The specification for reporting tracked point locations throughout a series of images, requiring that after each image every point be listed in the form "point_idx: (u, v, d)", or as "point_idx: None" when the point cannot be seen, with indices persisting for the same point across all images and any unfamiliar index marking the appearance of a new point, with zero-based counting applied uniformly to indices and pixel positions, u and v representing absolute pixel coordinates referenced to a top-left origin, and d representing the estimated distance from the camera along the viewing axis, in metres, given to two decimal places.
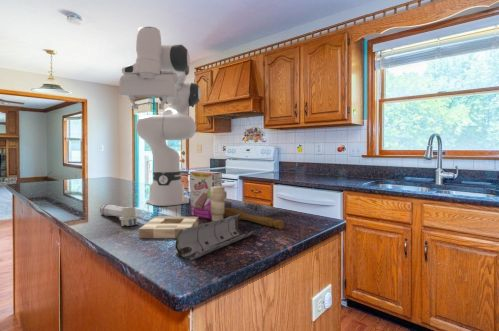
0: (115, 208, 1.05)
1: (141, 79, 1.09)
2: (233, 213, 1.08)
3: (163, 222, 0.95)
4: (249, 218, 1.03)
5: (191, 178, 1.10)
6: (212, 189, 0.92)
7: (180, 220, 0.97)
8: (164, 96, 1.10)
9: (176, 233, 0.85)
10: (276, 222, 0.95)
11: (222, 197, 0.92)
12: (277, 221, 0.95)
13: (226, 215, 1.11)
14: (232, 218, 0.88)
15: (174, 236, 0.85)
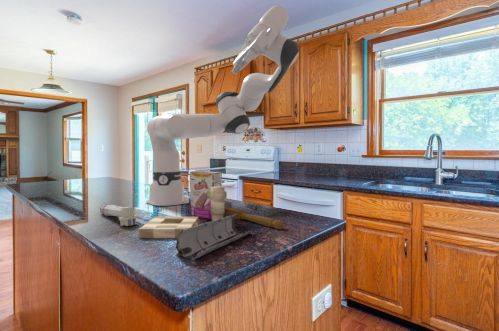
0: (115, 208, 1.05)
1: (248, 46, 1.09)
2: (233, 212, 1.08)
3: (163, 222, 0.95)
4: (249, 218, 1.03)
5: (191, 178, 1.10)
6: (212, 189, 0.92)
7: (180, 220, 0.97)
8: (250, 48, 1.00)
9: (176, 233, 0.85)
10: (275, 222, 0.95)
11: (222, 197, 0.92)
12: (276, 221, 0.95)
13: (227, 215, 1.11)
14: (229, 218, 0.88)
15: (174, 236, 0.85)
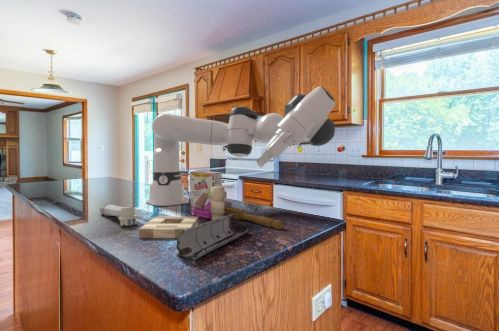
0: (114, 208, 1.05)
1: (277, 136, 0.94)
2: (233, 212, 1.08)
3: (163, 222, 0.95)
4: (249, 218, 1.03)
5: (191, 178, 1.10)
6: (212, 189, 0.92)
7: (180, 220, 0.97)
8: (266, 152, 0.86)
9: (176, 233, 0.85)
10: (275, 222, 0.95)
11: (222, 197, 0.92)
12: (276, 221, 0.95)
13: (227, 215, 1.11)
14: (227, 217, 0.89)
15: (174, 236, 0.85)
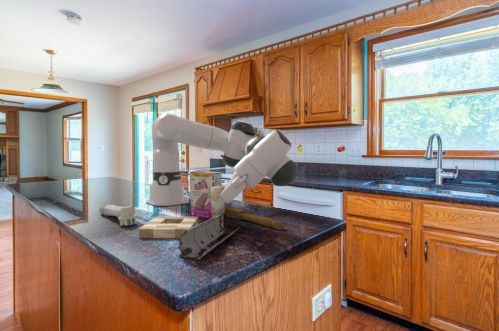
0: (114, 208, 1.05)
1: None
2: (234, 212, 1.09)
3: (163, 222, 0.95)
4: (249, 218, 1.03)
5: (191, 178, 1.10)
6: (212, 189, 0.92)
7: (180, 220, 0.97)
8: None
9: (176, 233, 0.85)
10: (274, 223, 0.95)
11: None
12: (275, 222, 0.95)
13: (228, 215, 1.11)
14: (218, 216, 0.89)
15: (174, 236, 0.85)
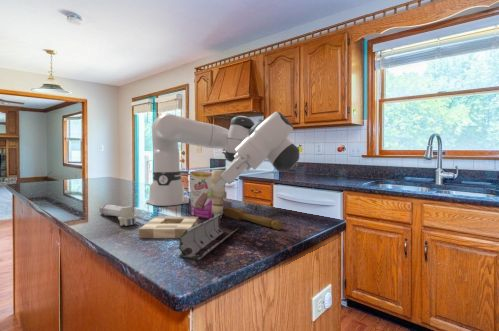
0: (114, 208, 1.05)
1: None
2: (233, 212, 1.08)
3: (163, 222, 0.95)
4: (249, 218, 1.03)
5: (191, 178, 1.10)
6: (213, 172, 0.92)
7: (180, 220, 0.97)
8: None
9: (176, 233, 0.85)
10: (274, 223, 0.94)
11: None
12: (275, 222, 0.94)
13: (227, 215, 1.11)
14: (217, 217, 0.89)
15: (174, 236, 0.85)
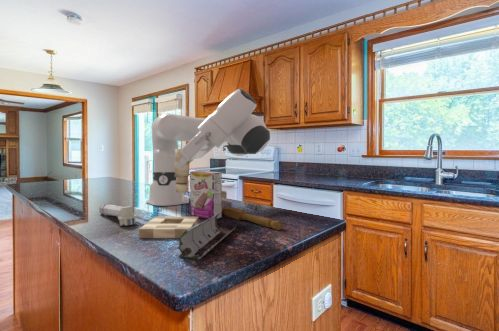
0: (114, 208, 1.05)
1: None
2: (234, 212, 1.08)
3: (163, 222, 0.95)
4: (249, 218, 1.03)
5: (191, 178, 1.10)
6: (176, 150, 0.91)
7: (180, 220, 0.97)
8: None
9: (176, 233, 0.85)
10: (273, 223, 0.94)
11: None
12: (274, 222, 0.94)
13: (228, 215, 1.11)
14: (214, 216, 0.90)
15: (174, 236, 0.85)
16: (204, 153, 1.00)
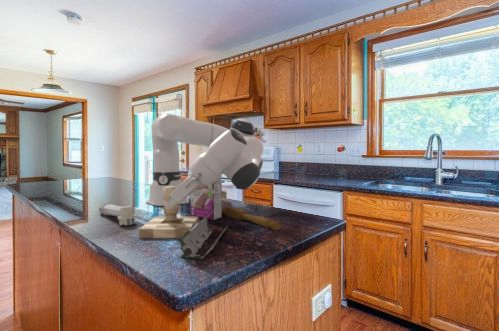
0: (114, 208, 1.05)
1: None
2: (234, 212, 1.09)
3: (163, 222, 0.95)
4: (249, 218, 1.03)
5: None
6: (164, 189, 0.92)
7: (180, 220, 0.97)
8: None
9: (176, 233, 0.85)
10: (272, 223, 0.94)
11: None
12: (273, 222, 0.94)
13: (229, 214, 1.12)
14: None
15: (174, 236, 0.85)
16: (196, 189, 1.01)
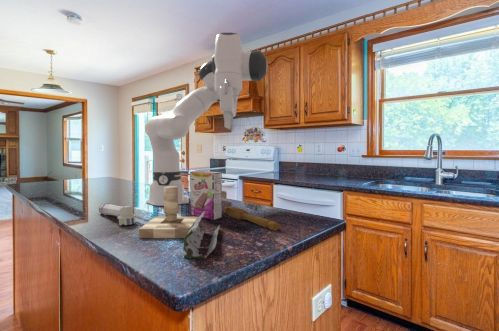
0: (113, 207, 1.06)
1: None
2: (235, 212, 1.09)
3: (163, 222, 0.95)
4: (249, 218, 1.03)
5: (191, 178, 1.10)
6: (164, 189, 0.92)
7: (180, 220, 0.97)
8: (223, 113, 0.92)
9: (176, 233, 0.85)
10: (270, 223, 0.93)
11: (174, 197, 0.93)
12: (271, 222, 0.94)
13: (230, 214, 1.12)
14: None
15: (174, 236, 0.85)
16: (235, 109, 1.05)
